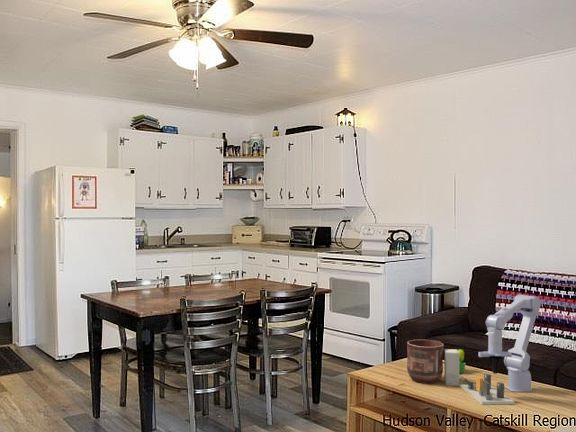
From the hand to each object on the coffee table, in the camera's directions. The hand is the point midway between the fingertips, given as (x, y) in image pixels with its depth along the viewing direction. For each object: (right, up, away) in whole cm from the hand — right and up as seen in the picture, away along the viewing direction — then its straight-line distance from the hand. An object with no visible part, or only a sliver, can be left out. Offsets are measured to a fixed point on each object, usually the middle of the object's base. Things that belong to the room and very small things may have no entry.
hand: (494, 373), depth 241 cm
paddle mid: (-7, -8, 0) cm, 11 cm away
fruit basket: (-6, -11, +39) cm, 40 cm away
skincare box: (-14, -10, +17) cm, 24 cm away
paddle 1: (-7, -8, +7) cm, 13 cm away
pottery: (-26, -10, +22) cm, 35 cm away
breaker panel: (-4, -10, 0) cm, 11 cm away
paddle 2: (-7, -8, -7) cm, 13 cm away
